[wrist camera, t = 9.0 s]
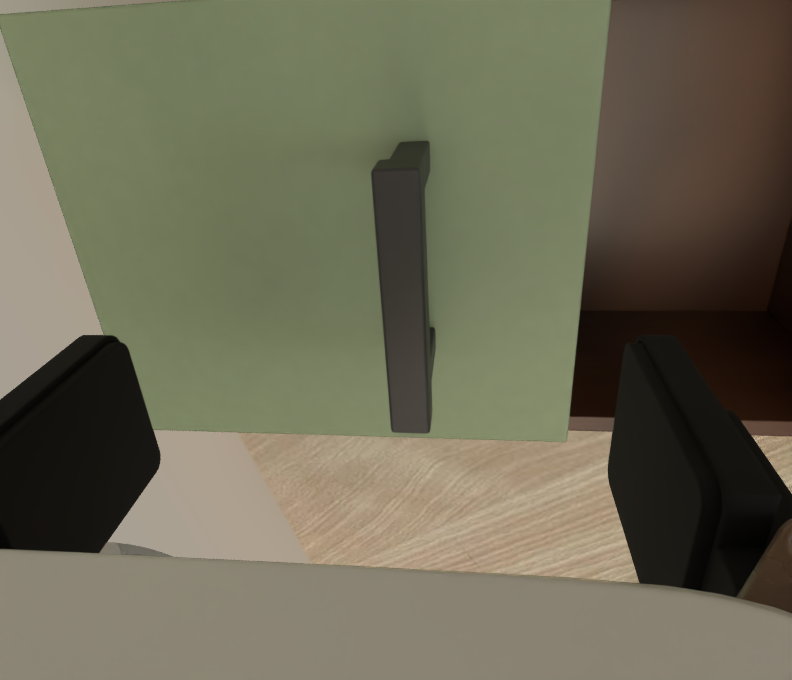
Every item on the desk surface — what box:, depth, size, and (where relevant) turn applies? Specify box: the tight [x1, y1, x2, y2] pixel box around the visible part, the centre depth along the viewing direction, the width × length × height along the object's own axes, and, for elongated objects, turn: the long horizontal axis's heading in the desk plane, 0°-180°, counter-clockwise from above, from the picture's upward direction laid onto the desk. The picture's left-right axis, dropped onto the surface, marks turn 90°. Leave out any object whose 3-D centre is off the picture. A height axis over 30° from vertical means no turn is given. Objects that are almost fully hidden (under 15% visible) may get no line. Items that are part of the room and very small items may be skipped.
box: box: [568, 0, 792, 436], centre depth 20 cm, size 15×13×9 cm
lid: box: [0, 0, 611, 442], centre depth 16 cm, size 15×13×5 cm
